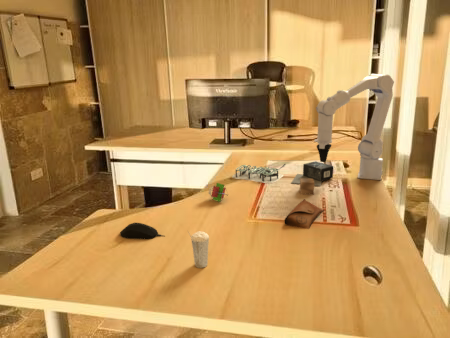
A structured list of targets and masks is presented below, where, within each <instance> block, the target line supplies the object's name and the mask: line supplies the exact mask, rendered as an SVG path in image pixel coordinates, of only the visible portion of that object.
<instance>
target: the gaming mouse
mask: <svg viewBox="0 0 450 338" xmlns="http://www.w3.org/2000/svg"><path fill="white" fill-rule="evenodd" d="M119 235H120V236H121V237H122V238H124V239H127V240H132V239H133V240H150V239H151V240H153V239H154V238H156V237H164V234H163V235H162V234H160V233H159V232H158V230H157V229H156V228H155V227H153V226H151V225H148V224H145V223H142V222H132V223H129V224H128V225H127V226H125V227H124V228H123V229H122V230H121V231H120V232H119Z"/></svg>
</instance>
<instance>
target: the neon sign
mask: <svg viewBox="0 0 450 338" xmlns="http://www.w3.org/2000/svg"><path fill="white" fill-rule="evenodd" d="M285 166H286V163H284V164H283V165H282V166H281V167H280V168H275V167H271V168H270V167H269V166H268V167H266V166H265V167H263V166H258V167H257V165H253V166H252V165H250V164H249V165H246V164H243V165H242V164H241V165H239V166H238V167H237V168H235V174H233V175H232V176H231V177H232V179H236V180H245V181H253V182H256V183H263V184H273V183H276V182H278V181H279V180H281V178H283V177H284V174H283V173H280V172H279V171H280V170H281V169H282V168H283V167H285Z"/></svg>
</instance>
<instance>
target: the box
mask: <svg viewBox="0 0 450 338" xmlns="http://www.w3.org/2000/svg"><path fill="white" fill-rule="evenodd" d="M302 169H303V171H302V174H303V176H306V177H309V178H312V179H315V180H318V181H322V182H323V181H326V180H327V181H328V180H331V179H333V178H334V166H333V165H330V164H327V163H325V162H320V161H316V160H314V161H310V162H307V163H303V168H302Z"/></svg>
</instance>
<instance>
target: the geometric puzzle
mask: <svg viewBox="0 0 450 338" xmlns="http://www.w3.org/2000/svg"><path fill="white" fill-rule="evenodd" d="M225 192H228V191H227V188H226V187H225V184H222V183H219V182H216V184H215V185H212V186H210V187H209V189H208V195H209V196H210V197H211V199H212V200H213V201H216V202H219V203H221V201H223V199H224V198H225V197H224V196H225V195H226V197H227V196H228V195H229V194H228V193H227V194H226V193H225Z"/></svg>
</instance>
